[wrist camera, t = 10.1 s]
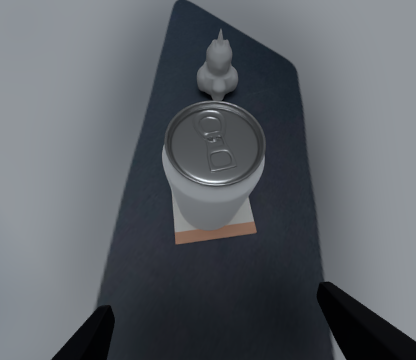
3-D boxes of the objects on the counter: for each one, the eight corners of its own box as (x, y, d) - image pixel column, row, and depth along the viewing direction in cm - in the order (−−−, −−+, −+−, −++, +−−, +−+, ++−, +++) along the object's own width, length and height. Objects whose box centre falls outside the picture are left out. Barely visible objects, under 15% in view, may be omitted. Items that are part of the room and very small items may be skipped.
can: (227, 170, 23) (251, 87, 12) (244, 223, 21) (292, 178, 10) (174, 182, 23) (148, 104, 12) (185, 238, 20) (167, 207, 9)
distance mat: (256, 232, 21) (256, 232, 21) (175, 244, 20) (175, 244, 20) (231, 124, 26) (231, 124, 26) (167, 130, 26) (167, 130, 25)
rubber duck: (233, 77, 30) (243, 16, 22) (236, 111, 27) (249, 55, 20) (197, 76, 30) (196, 15, 22) (197, 111, 27) (196, 54, 20)
